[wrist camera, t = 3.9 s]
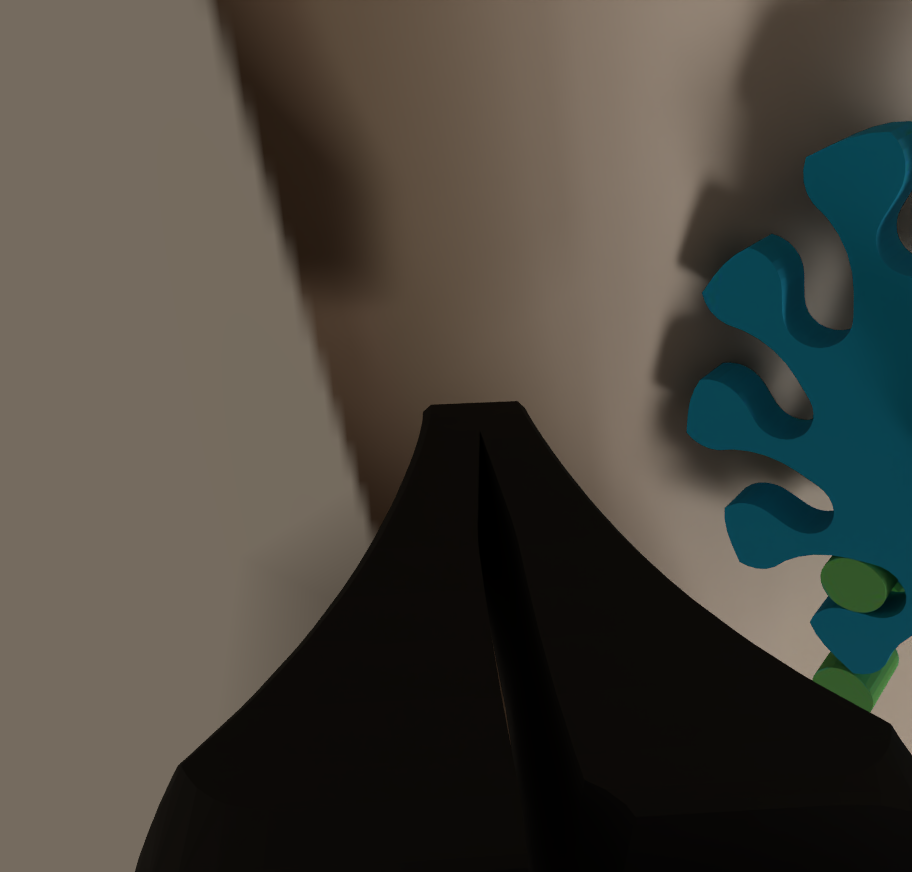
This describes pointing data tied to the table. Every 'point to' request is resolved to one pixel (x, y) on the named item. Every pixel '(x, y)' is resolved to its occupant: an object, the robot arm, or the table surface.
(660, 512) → the table surface
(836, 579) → the teal lobed flat part
